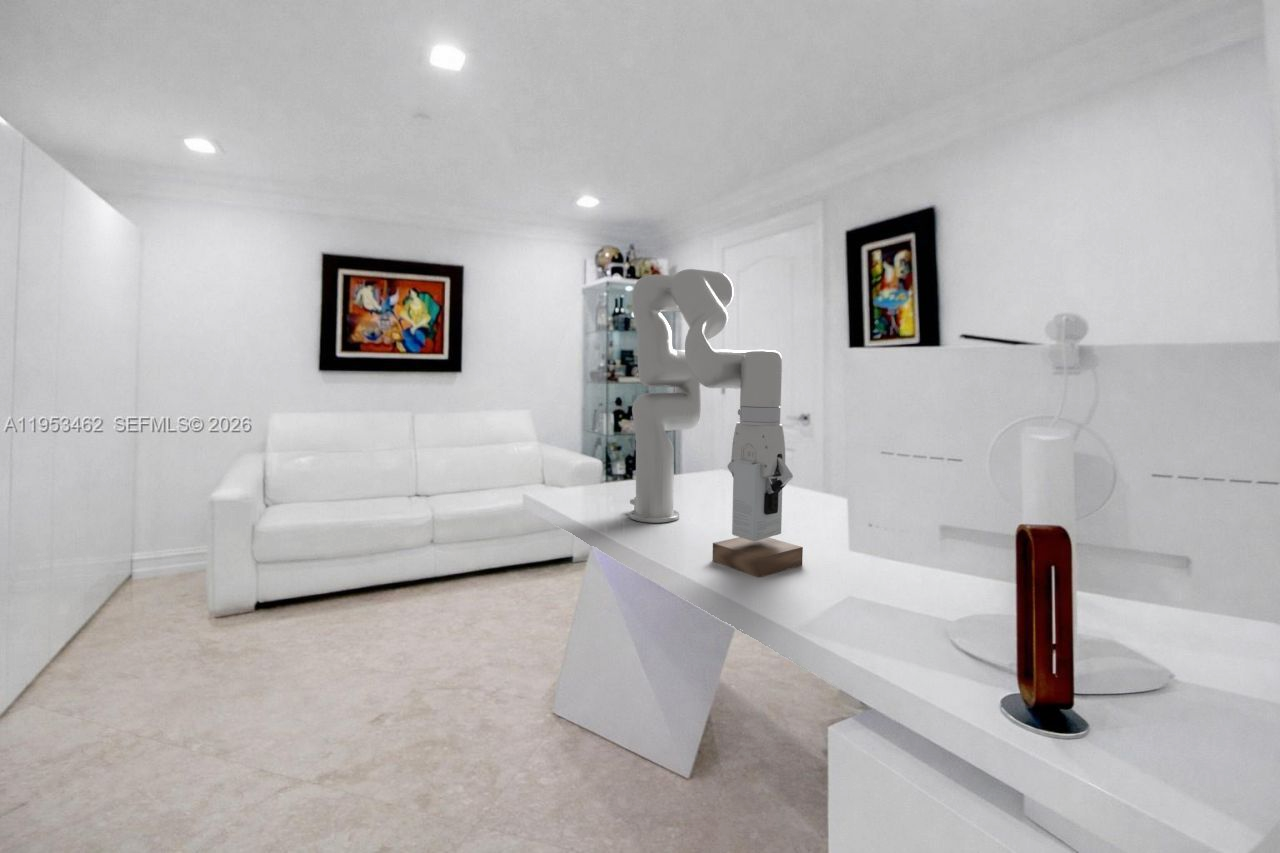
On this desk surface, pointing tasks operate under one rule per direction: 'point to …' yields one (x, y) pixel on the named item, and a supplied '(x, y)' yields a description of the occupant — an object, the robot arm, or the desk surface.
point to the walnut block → (757, 555)
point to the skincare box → (752, 504)
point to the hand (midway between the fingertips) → (757, 509)
